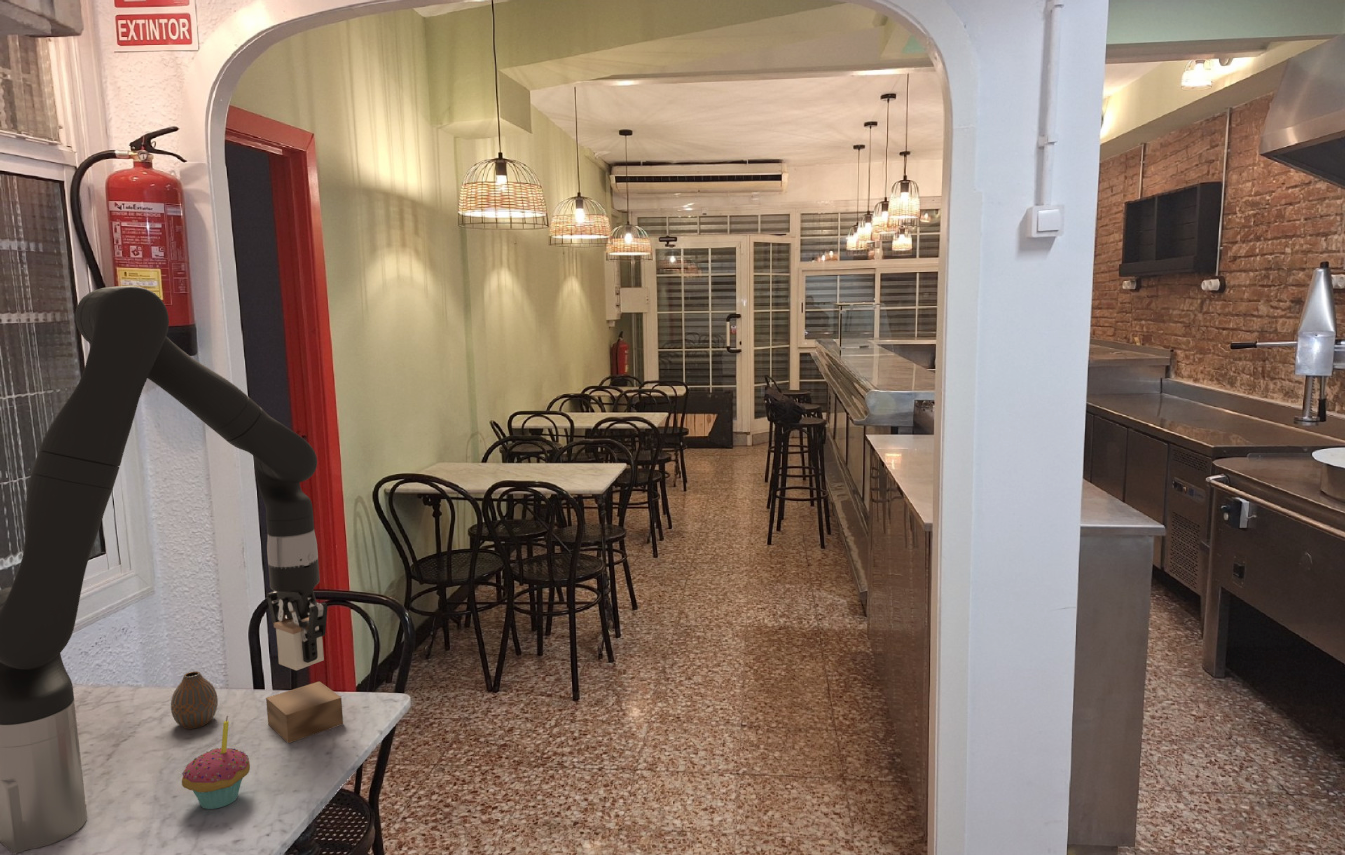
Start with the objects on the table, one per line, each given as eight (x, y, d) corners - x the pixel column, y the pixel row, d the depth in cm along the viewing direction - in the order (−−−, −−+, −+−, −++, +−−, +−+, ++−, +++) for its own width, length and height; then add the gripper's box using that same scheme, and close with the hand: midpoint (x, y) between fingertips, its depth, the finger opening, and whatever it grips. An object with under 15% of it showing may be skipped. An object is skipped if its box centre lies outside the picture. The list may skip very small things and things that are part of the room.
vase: (227, 714, 149) (223, 666, 148) (202, 734, 142) (198, 683, 141) (190, 713, 150) (186, 665, 148) (163, 732, 143) (158, 682, 142)
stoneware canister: (295, 671, 140) (292, 629, 139) (277, 664, 143) (273, 623, 142) (325, 660, 144) (322, 619, 143) (306, 653, 147) (303, 613, 146)
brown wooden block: (288, 744, 139) (286, 715, 138) (268, 725, 145) (266, 697, 144) (343, 725, 145) (341, 697, 144) (321, 708, 151) (319, 681, 151)
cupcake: (236, 777, 128) (230, 701, 127) (263, 797, 123) (257, 718, 121) (174, 803, 122) (166, 723, 120) (200, 825, 117) (192, 742, 115)
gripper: (247, 557, 142) (255, 655, 144) (297, 571, 134) (305, 675, 136) (289, 546, 148) (296, 641, 150) (339, 559, 140) (346, 659, 142)
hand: (300, 656), depth 143 cm, fingers closed on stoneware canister, 5 cm apart
